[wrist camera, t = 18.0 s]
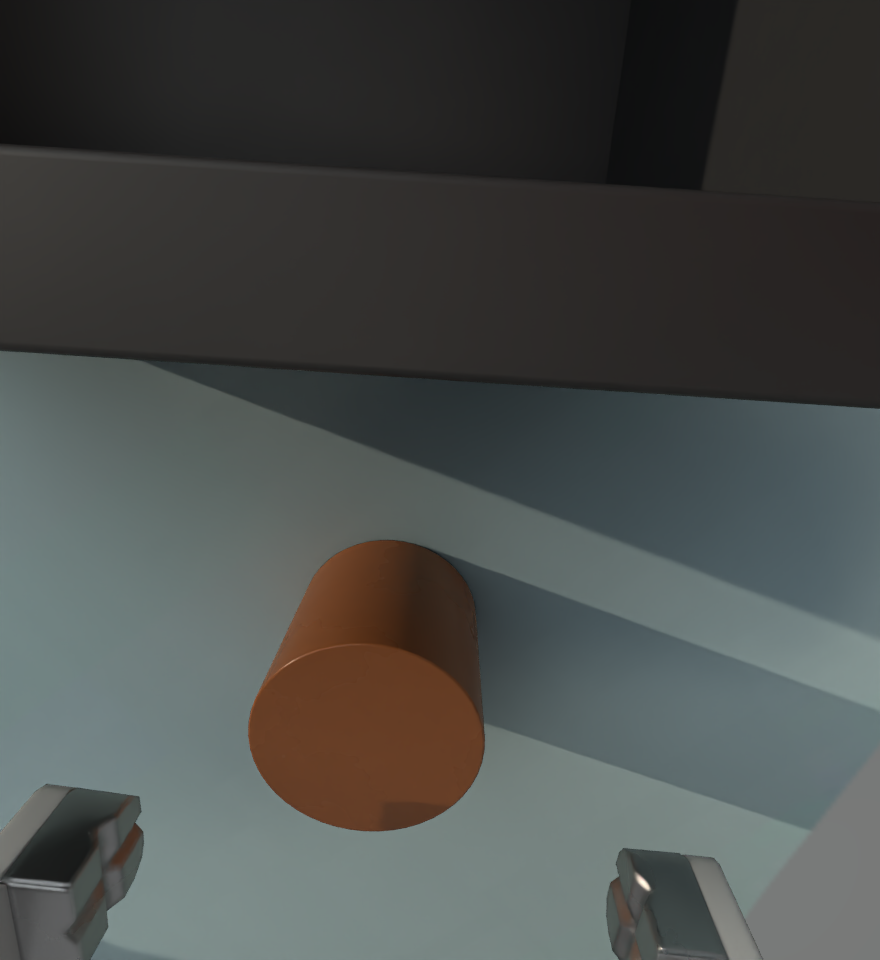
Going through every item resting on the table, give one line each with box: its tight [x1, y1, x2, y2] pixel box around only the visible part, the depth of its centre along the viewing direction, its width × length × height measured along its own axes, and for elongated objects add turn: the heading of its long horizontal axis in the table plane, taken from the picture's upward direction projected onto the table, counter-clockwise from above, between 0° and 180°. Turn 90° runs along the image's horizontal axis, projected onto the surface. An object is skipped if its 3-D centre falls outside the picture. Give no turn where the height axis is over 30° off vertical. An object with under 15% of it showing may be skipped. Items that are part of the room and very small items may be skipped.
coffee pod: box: [248, 540, 485, 831], centre depth 13 cm, size 5×5×4 cm
